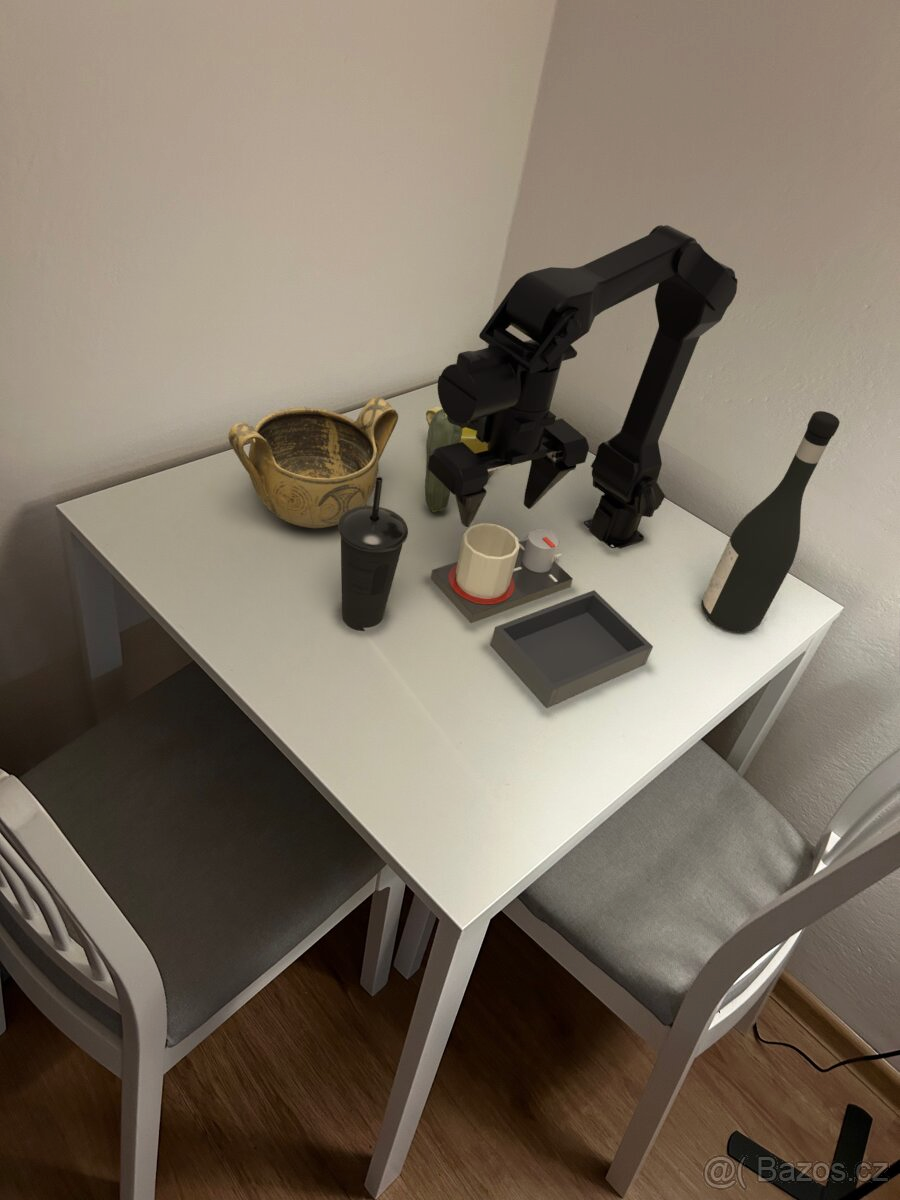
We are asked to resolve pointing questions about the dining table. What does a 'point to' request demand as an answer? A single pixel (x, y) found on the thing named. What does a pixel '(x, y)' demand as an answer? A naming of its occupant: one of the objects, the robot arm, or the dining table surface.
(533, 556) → the knob
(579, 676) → the sink
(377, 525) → the drinking cup
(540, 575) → the hob
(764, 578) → the wine bottle
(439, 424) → the vegetable
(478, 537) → the pot
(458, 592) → the burner
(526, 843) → the dining table surface
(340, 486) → the ceramic bowl
